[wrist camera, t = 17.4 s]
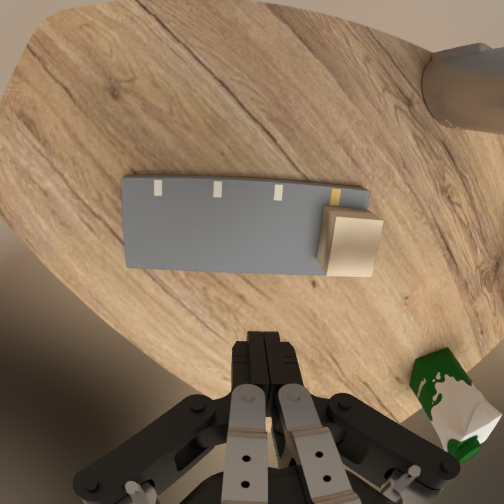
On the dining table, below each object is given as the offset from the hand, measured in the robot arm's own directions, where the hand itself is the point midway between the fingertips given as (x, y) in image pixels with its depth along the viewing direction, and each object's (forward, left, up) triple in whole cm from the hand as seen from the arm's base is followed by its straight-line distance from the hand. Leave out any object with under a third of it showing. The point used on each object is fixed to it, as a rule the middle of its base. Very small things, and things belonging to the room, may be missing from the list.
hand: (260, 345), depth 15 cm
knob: (0, +10, -18) cm, 21 cm away
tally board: (0, 0, -20) cm, 20 cm away
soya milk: (+24, +34, -21) cm, 47 cm away
